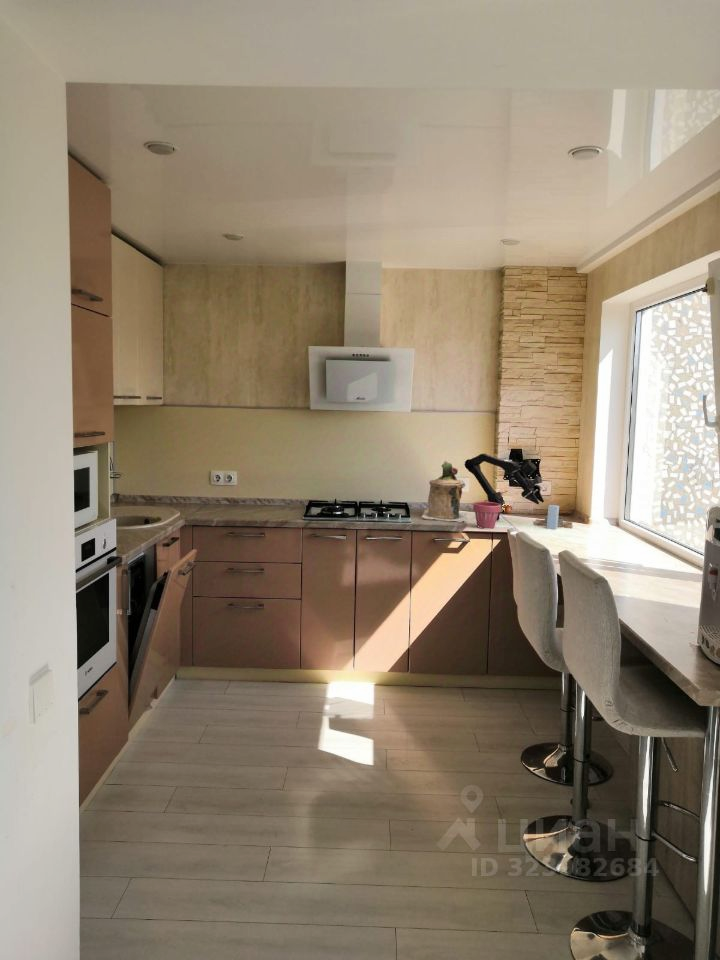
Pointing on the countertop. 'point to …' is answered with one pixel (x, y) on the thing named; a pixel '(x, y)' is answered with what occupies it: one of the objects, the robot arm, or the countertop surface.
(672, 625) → the countertop surface
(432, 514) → the cookie jar
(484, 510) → the plant pot
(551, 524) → the block
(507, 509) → the toy helicopter
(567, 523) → the jig cradle
